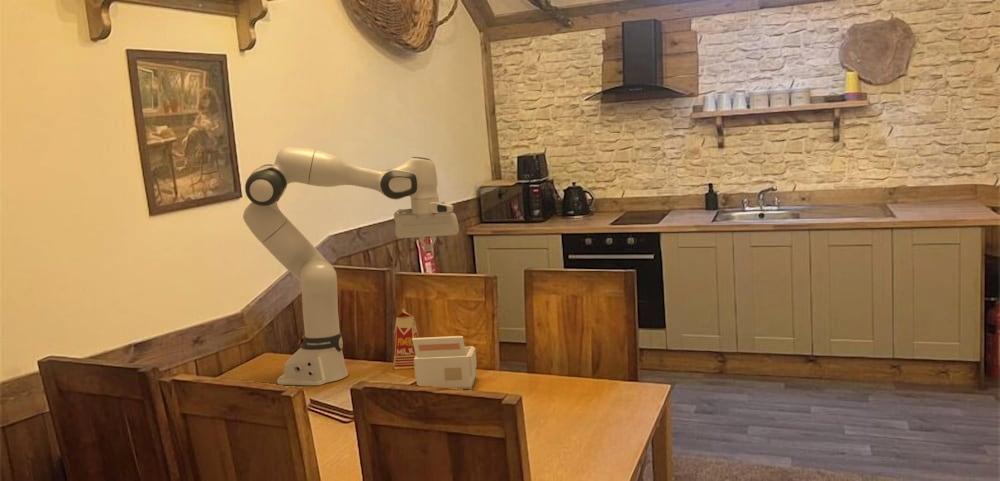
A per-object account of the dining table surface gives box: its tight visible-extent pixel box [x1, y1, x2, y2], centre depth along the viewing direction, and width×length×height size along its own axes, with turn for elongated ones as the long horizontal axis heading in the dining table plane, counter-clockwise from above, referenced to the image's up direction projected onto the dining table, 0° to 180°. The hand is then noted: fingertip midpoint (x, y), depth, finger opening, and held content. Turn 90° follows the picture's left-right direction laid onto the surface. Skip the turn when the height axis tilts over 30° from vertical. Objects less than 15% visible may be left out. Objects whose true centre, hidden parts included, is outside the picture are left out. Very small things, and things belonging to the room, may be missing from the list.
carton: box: [413, 345, 478, 391], centre depth 220 cm, size 17×13×10 cm
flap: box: [412, 335, 466, 358], centre depth 210 cm, size 15×8×1 cm
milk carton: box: [392, 308, 420, 368], centre depth 244 cm, size 9×9×20 cm
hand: (428, 250), depth 234 cm, fingers closed
